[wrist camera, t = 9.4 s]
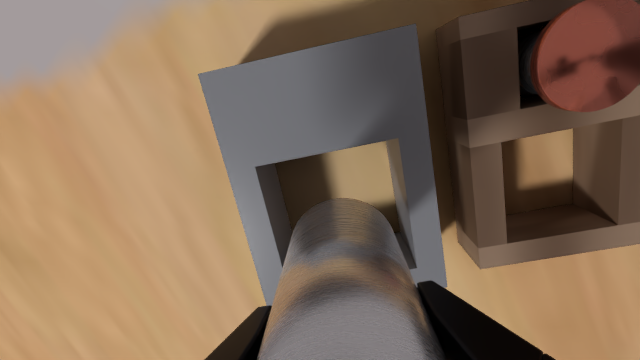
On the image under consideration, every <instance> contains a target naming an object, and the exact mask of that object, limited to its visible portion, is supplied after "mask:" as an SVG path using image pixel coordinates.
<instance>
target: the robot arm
mask: <svg viewBox="0 0 640 360" xmlns="http://www.w3.org/2000/svg"><path fill="white" fill-rule="evenodd" d="M417 289H418V292H419V294H420V296H421V299H422V301H423V303H424V306H425V308H426V311H427V313H428V315H429V318H430V320H431V323H432V325H433V327H434V330H435V332H436V334H437V337H438V339H439V342H440V344H441V346H442V349H443V351H444V354H445V356H446V358H447V360H555V359H554V358H552V357H551V356H549V355H548V354H543V352H542V351H541V350H540V349H538V348H537V347H535V346H533V345H532V344H530V343H529V342H527V341H526V340H524V339H523V338H521V337H519V336H518V335H516V334H515V333H513V332H512V331H510V330H509V329H507V328H506V327H504V326H502V325H501V324H499V323H498V322H496V321H495V320H493V319H492V318H490V317H488V316H487V315H485V314H484V313H482V312H481V311H479V310H478V309H476V308H474V307H473V306H471V305H470V304H468V303H467V302H465V301H464V300H462V299H461V298H459V297H457V296H456V295H454V294H453V293H451V292H450V291H448V290H447V289H445V288H443V287H442V286H440V285H439V284H437V283H436V282H434V281H432V280H429V281H423V282H418V283H417ZM271 308H272V306H271V305H269V306H262V307H258V308H257V309H256V310H255V311H254V312H253V313H252V314H251V315H250V316H248V317H247V318H246V319H245V320H244V321H243V322H242V323H241V324H240V325H239V326H238V327H237V328H236V329H235V330H234V331H233V332H232V333H231V334H230V335H229V336H228V337H227V338H226V339H225V340H224V341H223V342H222V343H221V344H220V345H219V346H218V347H217V348H216V349H215V350H214V351H213V352H212V353H211V354H210V355H209V356H208V357H207V358H206V359H205V360H257V357H258V354H259V350H260V347H261V343H262V339H263V336H264V332H265V329H266V325H267V322H268V318H269V315H270V311H271Z"/></svg>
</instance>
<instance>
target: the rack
mask: <svg viewBox="0 0 640 360" xmlns="http://www.w3.org/2000/svg"><path fill="white" fill-rule="evenodd" d="M198 76H199V79H200V83H201V86H202V89H203V93H204V96H205V99H206V103H207V106H208V109H209V113H210V116H211V120H212V123H213V126H214V130H215V133H216V136H217V140H218V143H219V146H220V150H221V153H222V157H223V160H224V163H225V167H226V170H227V173H228V177H229V180H230V183H231V187H232V190H233V194H234V197H235V200H236V204H237V207H238V210H239V214H240V217H241V220H242V224H243V227H244V230H245V234H246V237H247V241H248V244H249V247H250V251H251V254H252V257H253V261H254V264H255V267H256V271H257V274H258V278H259V281H260V284H261V288H262V291H263V294H264V298H265V301H266V304H267V306H269V305H271V306H272V304H273V300H274V297H275V293H276V290H277V286H278V283H279V279H280V276H281V272H282V268H283V265H284V261H285V258H286V254H287V251H288V247H289V244H290V240H291V237H292V230H291V226H290V222H289V218H288V214H287V210H286V206H285V202H284V198H283V194H282V190H281V186H280V182H279V178H278V175H277V171H276V167H275V163H277V162H282V161H287V160H292V159H297V158H302V157H307V156H312V155H317V154H322V153H327V152H332V151H336V150H341V149H346V148H351V147H356V146H361V145H366V144H371V143H376V142H381V141H386V145H387V151H388V157H389V164H390V170H391V177H392V183H393V189H394V196H395V202H396V209H397V215H398V221H399V228H400V232H399V233H394V234H395V237H396V239H397V241H398V244H399V246H400V249H401V251H402V253H403V256H404V258H405V261H406V263H407V265H408V268H409V270H410V272H411V275H412V277H413V280H414V282H415V284H416V287H417V283H418V282H423V281H429V280H432V281H434V282H436V283H437V284H439V285H440V286H442V287H443V288H445V287H447V280H446V271H445V263H444V255H443V246H442V238H441V229H440V221H439V213H438V204H437V196H436V187H435V179H434V171H433V162H432V154H431V145H430V137H429V129H428V120H427V112H426V103H425V95H424V87H423V78H422V70H421V61H420V53H419V45H418V36H417V28H416V24H412V25H407V26H403V27H399V28H394V29H390V30H386V31H381V32H377V33H373V34H369V35H364V36H360V37H356V38H351V39H347V40H343V41H338V42H334V43H330V44H325V45H321V46H317V47H312V48H308V49H304V50H300V51H295V52H291V53H287V54H282V55H278V56H274V57H269V58H265V59H261V60H256V61H252V62H248V63H244V64H239V65H235V66H231V67H226V68H222V69H218V70H213V71H209V72H205V73H200V74H198Z"/></svg>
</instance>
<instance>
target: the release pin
mask: <svg viewBox="0 0 640 360" xmlns="http://www.w3.org/2000/svg"><path fill="white" fill-rule="evenodd" d="M517 40H518V63H519V87H520V94H536V95H539V96H540V97H541V98H542V99H543V100H544V101H545V102H546V103H548V104H549V105H551V106H553V107H555V108H557V109H561V110H565V111H574V112H593V111H598V110H602V109H605V108H607V107H610V106H612V105H614V104H616V103H618V102H619V101H621V100H622V99H624V98H625V97H626V96H627V95H629V94H630V93H631V92H632V91H633V90H634V89H635V88H636V87H637V86H638V84H639V83H640V5H639V4H638V3H637V2H635V1H633V0H585V1H582V2H579V3H577V4H574V5H572V6H570V7H568V8H566V9H565V10H563V11H562V12H560V13H559V14H558V15H556V16H555V17H554V18H553V19H552V20H551V21H550V22H549V23H548V24H547V25H546V26H545V28H544V29H543V30H542V31H538V32H535V33H531V34H527V35H524V36H522V37H520V38H518V39H517Z"/></svg>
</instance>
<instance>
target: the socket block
mask: <svg viewBox="0 0 640 360" xmlns="http://www.w3.org/2000/svg"><path fill="white" fill-rule="evenodd" d="M582 1H585V0H530V1H525V2H521V3H517V4H512V5H508V6H504V7H499V8H495V9H491V10H486V11H482V12H478V13H473V14H469V15H465V16H460V17H457V18H456V19H454V20H452V21H450V22H449V23H447V24H445V25H443V26H442V27H440V28H438V29H436V36H437V45H438V55H439V64H440V74H441V83H442V93H443V103H444V112H445V122H446V131H447V141H448V151H449V160H450V170H451V179H452V189H453V198H454V208H455V218H456V227H457V237H458V243H459V244H460V245H461V246H462V248H463V249H464V250H465V251H466V252H467V254H468V255H469V256H470V257H471V259H472V260H473V261H474V262H475V263H476V265H477V266H478V267H479V268H480V269H485V268H491V267H497V266H504V265H510V264H516V263H522V262H529V261H535V260H541V259H548V258H554V257H560V256H566V255H573V254H579V253H585V252H592V251H598V250H604V249H610V248H617V247H623V246H629V245H636V244H640V83H639V84H638V86H637V87H636V88H635V89H634V90H633V91H632V92H631V93H630V94H629V95H627V96H626V97H625V98H624V99H622V100H621V101H619V102H618V103H616V104H614V105H612V106H610V107H607V108H605V109H602V110H598V111H593V112H574V111H565V110H561V109H557V108H555V107H553V106H551V105H549V104H548V103H546V102H545V101H544V100H543V99H542V98H541V97H540V96H534V97H529V98H524V99H520V87H519V63H518V40H517V31H518V30H523V29H527V28H532V27H536V26H541V25H545V24H548V23H549V22H550V21H551V20H552V19H553V18H554V17H555V16H556V15H558V14H559V13H560V12H562V11H563V10H565V9H566V8H568V7H570V6H572V5H574V4H577V3H579V2H582ZM633 1H635V2H637V3H638V4H639V5H640V0H633ZM571 128H573V204H569V205H564V206H558V207H552V208H546V209H541V210H535V211H529V212H523V213H517V214H512V215H505V198H504V181H503V165H502V148H501V142H504V141H509V140H514V139H519V138H525V137H530V136H535V135H540V134H545V133H550V132H556V131H561V130H566V129H571Z"/></svg>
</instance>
